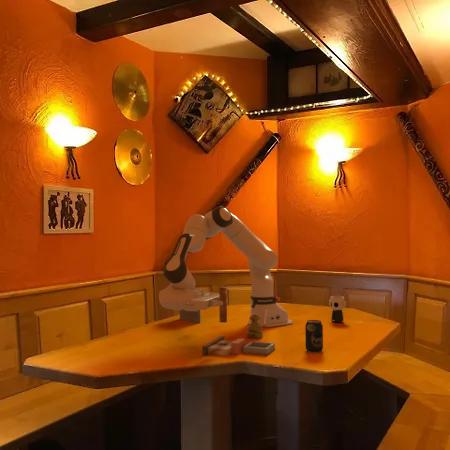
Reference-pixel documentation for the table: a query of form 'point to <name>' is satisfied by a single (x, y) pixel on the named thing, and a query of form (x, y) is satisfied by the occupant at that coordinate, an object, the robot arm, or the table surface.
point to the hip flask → (190, 315)
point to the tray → (259, 348)
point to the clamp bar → (205, 347)
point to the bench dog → (237, 346)
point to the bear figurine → (337, 307)
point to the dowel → (224, 307)
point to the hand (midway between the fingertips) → (225, 302)
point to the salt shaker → (254, 328)
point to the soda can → (314, 336)
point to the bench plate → (221, 348)
